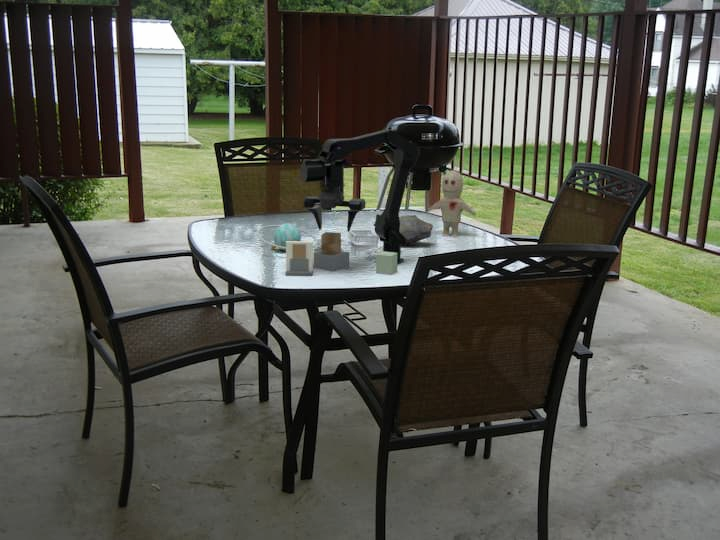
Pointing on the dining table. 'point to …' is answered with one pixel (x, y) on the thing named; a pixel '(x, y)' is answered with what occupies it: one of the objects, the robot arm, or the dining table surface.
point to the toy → (452, 202)
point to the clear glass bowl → (285, 235)
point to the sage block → (386, 263)
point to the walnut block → (331, 243)
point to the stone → (414, 229)
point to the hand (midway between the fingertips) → (334, 230)
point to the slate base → (331, 261)
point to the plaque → (299, 258)
